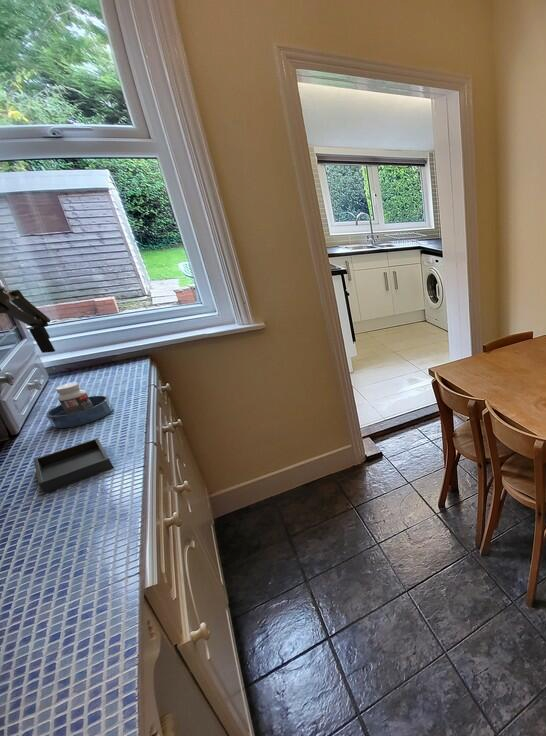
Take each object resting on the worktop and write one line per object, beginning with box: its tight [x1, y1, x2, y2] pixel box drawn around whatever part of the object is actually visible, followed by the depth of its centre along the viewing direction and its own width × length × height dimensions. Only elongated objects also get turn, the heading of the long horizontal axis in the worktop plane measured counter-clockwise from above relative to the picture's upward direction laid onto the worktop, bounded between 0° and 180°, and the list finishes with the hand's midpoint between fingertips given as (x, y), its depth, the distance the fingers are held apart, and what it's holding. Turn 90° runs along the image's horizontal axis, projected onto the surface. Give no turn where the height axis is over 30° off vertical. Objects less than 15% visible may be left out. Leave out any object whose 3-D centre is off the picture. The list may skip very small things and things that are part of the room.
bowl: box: [45, 395, 114, 429], centre depth 118 cm, size 13×13×4 cm
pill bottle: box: [55, 381, 94, 414], centre depth 117 cm, size 6×6×10 cm
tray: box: [33, 437, 115, 494], centre depth 95 cm, size 15×11×3 cm
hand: (23, 361), depth 102 cm, fingers open, 13 cm apart
